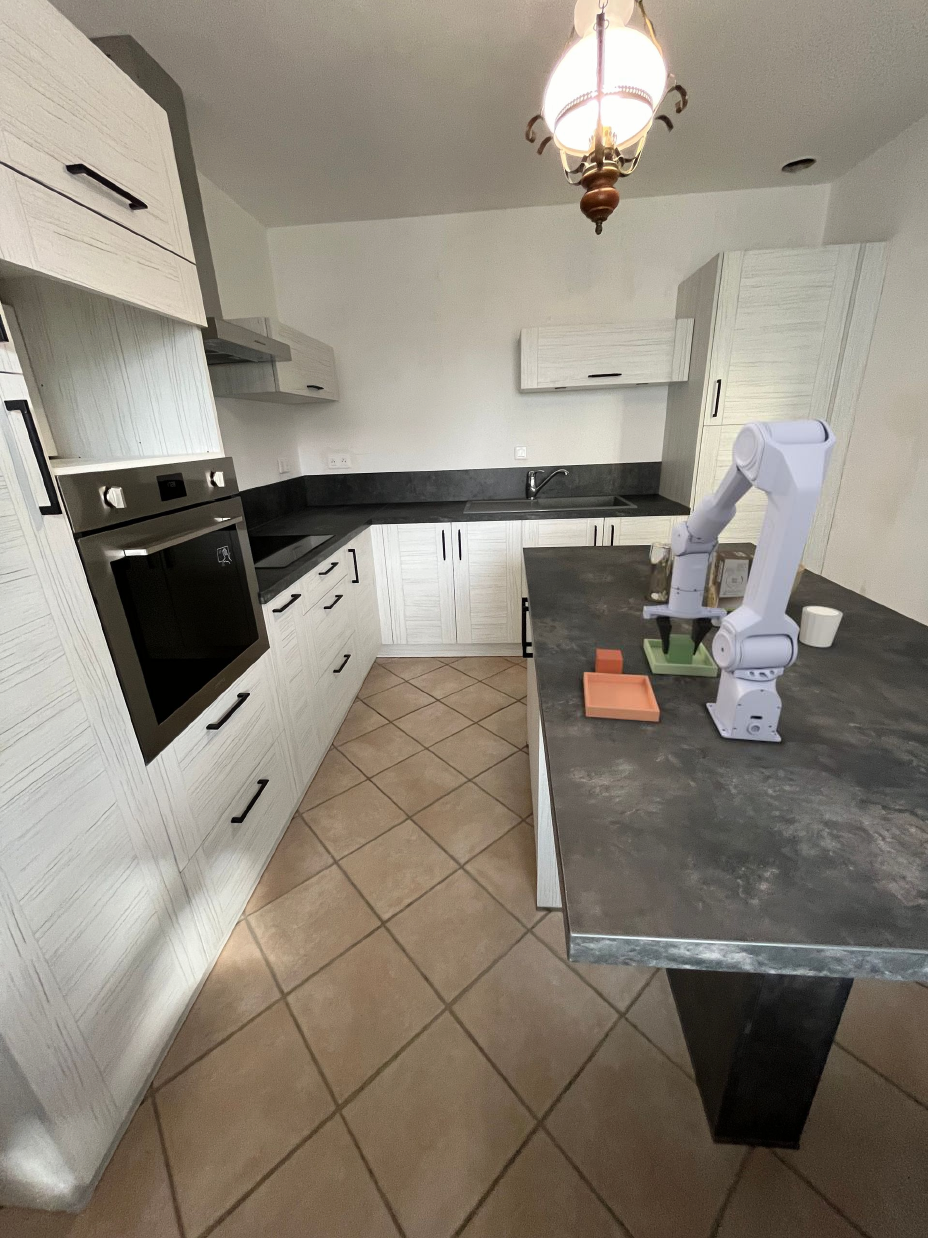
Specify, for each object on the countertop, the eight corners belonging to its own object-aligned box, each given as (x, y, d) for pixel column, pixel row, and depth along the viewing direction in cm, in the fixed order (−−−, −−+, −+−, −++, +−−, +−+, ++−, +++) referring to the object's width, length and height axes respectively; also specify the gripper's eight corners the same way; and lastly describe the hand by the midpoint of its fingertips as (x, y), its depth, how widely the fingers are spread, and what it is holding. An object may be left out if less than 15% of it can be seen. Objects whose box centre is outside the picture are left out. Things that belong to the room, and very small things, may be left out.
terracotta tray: (658, 721, 77) (659, 711, 76) (585, 716, 79) (586, 706, 78) (646, 684, 88) (647, 675, 87) (583, 681, 90) (583, 672, 90)
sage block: (691, 664, 94) (694, 643, 93) (667, 663, 95) (670, 642, 93) (686, 654, 98) (689, 634, 97) (663, 653, 99) (666, 633, 97)
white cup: (797, 645, 102) (804, 613, 99) (794, 633, 107) (801, 603, 105) (837, 650, 99) (846, 618, 96) (832, 638, 104) (840, 607, 102)
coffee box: (744, 628, 111) (756, 559, 105) (713, 626, 112) (724, 558, 107) (731, 614, 119) (743, 549, 114) (703, 613, 121) (713, 549, 115)
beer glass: (639, 597, 133) (644, 543, 128) (658, 593, 136) (664, 540, 131) (658, 604, 128) (665, 548, 122) (678, 600, 130) (685, 544, 125)
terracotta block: (621, 681, 90) (623, 660, 88) (596, 680, 90) (598, 658, 89) (618, 670, 94) (620, 650, 92) (595, 669, 94) (596, 648, 93)
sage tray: (716, 676, 90) (718, 667, 89) (652, 673, 92) (653, 664, 92) (699, 649, 101) (701, 641, 101) (643, 647, 103) (644, 638, 103)
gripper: (722, 581, 94) (712, 646, 98) (643, 580, 96) (637, 642, 101) (734, 593, 87) (722, 661, 92) (649, 591, 90) (642, 657, 95)
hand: (678, 652), depth 96 cm, fingers closed on sage block, 4 cm apart
